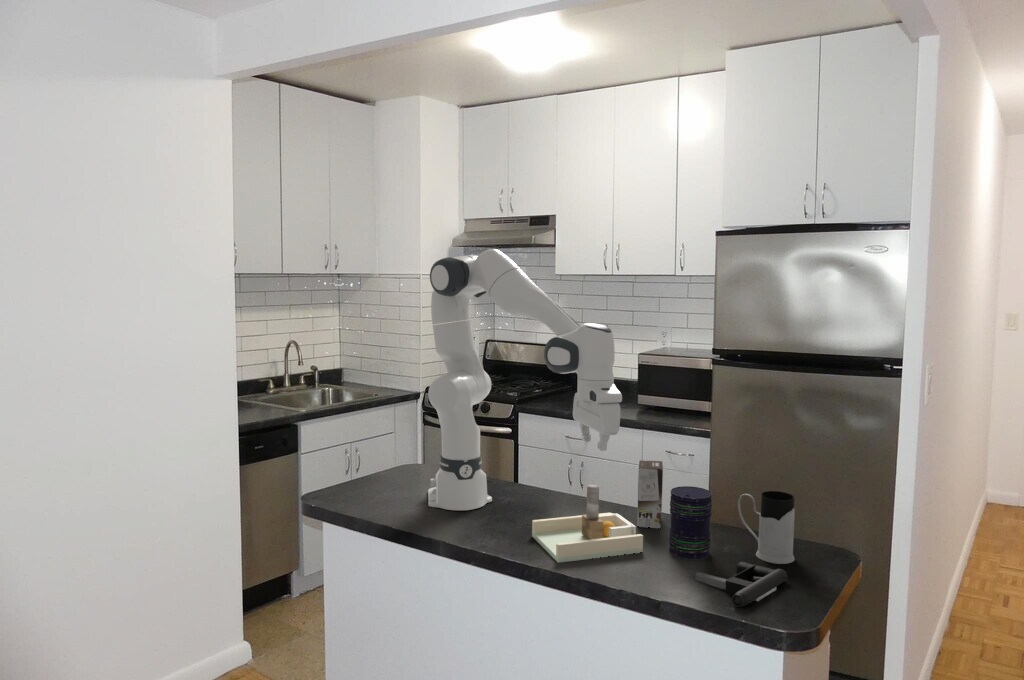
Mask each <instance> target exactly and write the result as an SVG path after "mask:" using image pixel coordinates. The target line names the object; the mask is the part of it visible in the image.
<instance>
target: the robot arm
mask: <svg viewBox="0 0 1024 680" xmlns="http://www.w3.org/2000/svg"><path fill="white" fill-rule="evenodd" d="M429 282H430V284H431V287H432V288H433V290H432V292H431V302H430V303H431V305H430V307H431V309H430V310H431V313H430V314H431V322H432V323H431V324H432V330H433V337H434V344H435V351H436V353H437V355H438V356H439V357H440V358H441V359H442V361H443V362H444V365H445V368H446V371H447V373H443V374H442V375H440V376H438V377H437V378H436V379H435V380H434V381H433V382H431V384H430V385H429V388H428V393H427V394H428V396H427V397H428V400H429V402H430V405H431V406H432V407H433V408H434V409H435V410H436V412H437V413H436V414H437V416H438V420H439V425H440V432H441V454H440V458H439V469H438V471H437V473H436V474H435V477H434V478H430V480H429V485H430V487H429V488H428V490H427V499H428V502H427V503H428V507H429V508H430V507H432V508H440V509H443V510H448V511H449V510H450V511H470V510H475V509H479V508H481V507H482V508H483V507H484V506H485V505H486V504H487V503H488V504H489V503H491V502H492V501H493V497H492V496H491V495H489V494H488V484H487V474H486V473H485V472H484V470H482V466H483V465H482V463H483V459H482V455H481V429H480V426H479V425H478V424H477V422H476V420H475V416H474V411H473V406H474V405H477V404H480V403H481V402H482V401H484V399H486V398H487V396H489V394H490V392H491V390H492V379H491V377H490V375H489V374H488V372H486V371H485V370H484V367H483V365H482V363H481V360H480V357H479V355H478V352H477V348H476V344H475V340H474V332H473V327H472V326H473V325H472V319H471V312H470V302H471V299H472V298H473V297H475V298H480V297H482V296H483V295H484V294H487V295H488V297H489V298H490V299H491V300H492V301H493V303H495V305H496V307H499V308H500V309H501V310H503V311H504V312H505V313H506V314H509V315H511V316H512V315H513V316H517V317H521V318H528V319H531V320H535V321H538V322H540V323H542V325H543V324H544V325H545V326H546V327H547V328H548V329H549V330H551V332H552V333H553V334H555V335H556V336H554V337H552V338H550V339H549V340H548V341H547V343H546V344H545V346H544V350H543V359H544V362H545V364H546V366H547V368H548V369H549V370H550V371H552V372H553V373H556V374H561V375H562V374H564V375H565V374H570V373H571V374H573V373H576V375H577V385H576V386H577V388H576V389H577V392H575V393H574V396H573V406H572V417H573V420H574V421H576V422H578V423H579V428H580V432H581V440H582V441H583V442H586V443H587V442H591V441H592V440H591V439H592V435H591V434H590V429H591V430H594V431H596V432H597V433H598V436H599V440H598V442H597V449H598V451H601V452H605V451H607V450H608V443H609V439H610V436H614V435H615V436H616V435H617V434H618V433H619V431H620V425H621V424H620V423H621V405H620V403H621V402H623V395H622V393H621V391H620V390H619V389H618V387H617V386H616V384H615V383H614V382H615V376H614V372H613V370H614V369H613V367H614V364H615V352H616V351H615V339H614V338H615V337H614V333H613V330H612V329H611V328H610V327H609V326H606V325H605V324H600V323H594V322H585V323H582V324H581V325H580V324H579V323H578V322H577V321H576V320H575V318H573V317H572V316H571V315H570V314H569V313H568V312H567V311H566V310H565V309H564V308H563V307H562V306H561V305H559V304H558V302H557V301H555V300H554V299H553V298H551V296H550V295H548V294H546V292H544V291H543V290H542V289H541V288H540V287H539V286H538V285H536V283H534V282H533V280H531V278H530V277H529V276H528V275H527V274H526V273H525V272H524V271H523V270H522V268H520V267H519V265H517V263H515V261H514V260H513V259H511V258H510V257H509V256H508V255H506V254H505V253H503V252H502V251H501V250H500V249H496V248H488V249H486V250H484V251H482V252H481V253H479V255H476V254H465V255H464V254H463V255H460V256H453V257H450V256H449V257H448V256H447V257H443V258H441V259H439V260H436V261H435V262H433V264H432V265H431V268H430V272H429Z"/></svg>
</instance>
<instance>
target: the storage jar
mask: <svg viewBox="0 0 1024 680" xmlns="http://www.w3.org/2000/svg"><path fill="white" fill-rule="evenodd" d="M712 494H713V493H712V491H711V490H708V489H707V488H706V489H705V488H702V487H698V486H691V485H690V486H688V485H687V486H686V485H682V486H676V487H673V488H672V489H671V490H670V500H669V507H670V508H669V513H670V528H669V535H668V541H669V547H668V552H669V554H671V555H672V554H673V555H674V557H676V558H678V557H679V558H678V559H682V558H683V559H682V560H688V559H689V561H700V560H699V559H701V560H705V559H708V558H709V557H710V556H711V555H710V552H711V551H710V549H711V540H712V539H711V531H710V529H711V528H710V527H711V526H710V525H711V517H712V508H713V505H712V504H713V503H712V499H713V498H712V497H713V495H712ZM673 555H672V556H673ZM708 556H709V557H708ZM704 558H705V559H704Z"/></svg>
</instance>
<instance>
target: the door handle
mask: <svg viewBox="0 0 1024 680" xmlns="http://www.w3.org/2000/svg"><path fill="white" fill-rule="evenodd" d="M735 569H736V572H738V573H737V574H735V575H733V576H731V577H729V578H728V579H726V578H723V577H719V576H715V575H711V574H708V573H704V572H702V571H698V572H696V573H694V580H695V581H698V582H700V583H703V584H707V585H709V586H712V587H715V588H718V589H721V590H725V593H728V594H731V595H732V597H731V602H732V604H733V605H734V606H735V607H737V608H743V607H746V606H747V605H749V604H750V603H753V602H759V601H761V600H762V599H764V598H765V597H767V596H769V595H770V594H772V593H773V592H775V591H777V587H778V586H780V585H783V583H788V582H787V579H788V574H787V572H786V570H784V569H783V568H776V569H775V568H770V567H766V566H762V565H759V564H754V563H752V562H751V563H750V562H747V561H746V562H745V561H740V562H738V563H737V564H736V566H735ZM750 579H752V580H753V581H754V582H752V581H749V580H750Z"/></svg>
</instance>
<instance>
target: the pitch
mask: <svg viewBox="0 0 1024 680" xmlns="http://www.w3.org/2000/svg"><path fill="white" fill-rule="evenodd" d="M582 515H583V514H581V515H573V516H572V515H571V516H561V517H551V518H541V519H532V520H531V524H532V527H531V537H532V538H533V539H534V540H535V541H536V543H538V544H539V545H540V546H541V547H542V548H543V549H544V550H545V551H546V552H547V553H548V554H549V556H550V557H552V558H553V559H554V560H555V561H556V562H557V563H558V564H559V563H566V562H574V561H583V560H590V559H592V558H593V559H600V557H601V558H608V556H610V557H616V556H617V555H618V556H625V555H624V554H626V555H633V553H635V554H641V553H640V552H643V550H644V535H643V534H641V533H639V534H638V533H637V525H634V524H633V523H632V522H631V521H629V520H627V519H626V518H625V517H623V516H622V515H621V514H619V513H612V512H603V513H601V512H600V513H599V519H600V520H602V521H603V522H605V521H610V522H612V523H613V524H614V525H615V527H609V538H607V537H604V536H603V538H600V539H591V540H588V539H587V538H586V537H584V536H583V535H582Z"/></svg>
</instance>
